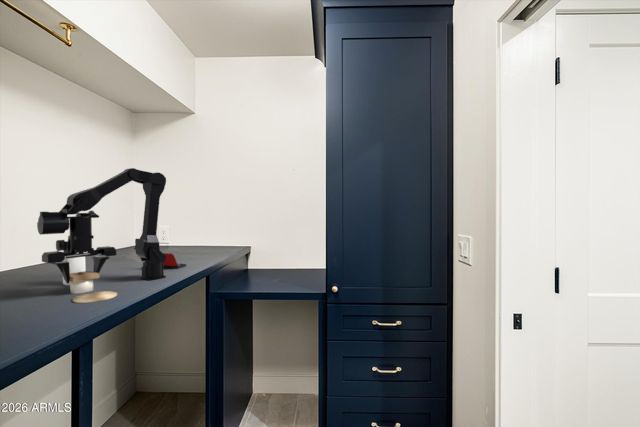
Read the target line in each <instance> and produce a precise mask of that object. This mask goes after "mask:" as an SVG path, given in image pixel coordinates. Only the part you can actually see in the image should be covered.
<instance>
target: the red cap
mask: <svg viewBox="0 0 640 427" xmlns="http://www.w3.org/2000/svg"><path fill="white" fill-rule="evenodd" d="M162 253H163V254H164V255H165V256H166V260H165V262H163V269H168V270H178V269H182V268H185V267H186V266H187V263H178V261H177V260H176V257H175V255H174V254H173V253H169V252H168V253H165V252H162Z"/></svg>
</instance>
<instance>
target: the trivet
mask: <svg viewBox="0 0 640 427" xmlns="http://www.w3.org/2000/svg"><path fill="white" fill-rule="evenodd" d="M117 296H118V292H116V291H112V290H111V291H110V290H108V291H105V290H104V291H95V292H94V291H93V292H86V293H82V294H79V295H77V296H74V297H73V298H72V302H73V303H76V304H87V303H97V302H98V303H99V302H104V301H107V300H111V299H113V298H116V297H117Z"/></svg>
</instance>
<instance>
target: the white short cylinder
mask: <svg viewBox="0 0 640 427" xmlns="http://www.w3.org/2000/svg"><path fill="white" fill-rule="evenodd" d="M92 291H94V279H90V280H84V281H78V282H71V281H70V285H69V294H75V295H76V294H86V293H91V292H92Z"/></svg>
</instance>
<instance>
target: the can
mask: <svg viewBox="0 0 640 427" xmlns="http://www.w3.org/2000/svg"><path fill="white" fill-rule="evenodd" d="M84 253H85V252H84ZM66 262H69V270H70V274H71V273H78V272H85V271H86V268H87V267H86V256H85V257H76V258H68V259H66ZM62 284H63V285H64V286H70V281H69V283H66V281H65V280H64V277H63V276H62Z"/></svg>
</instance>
